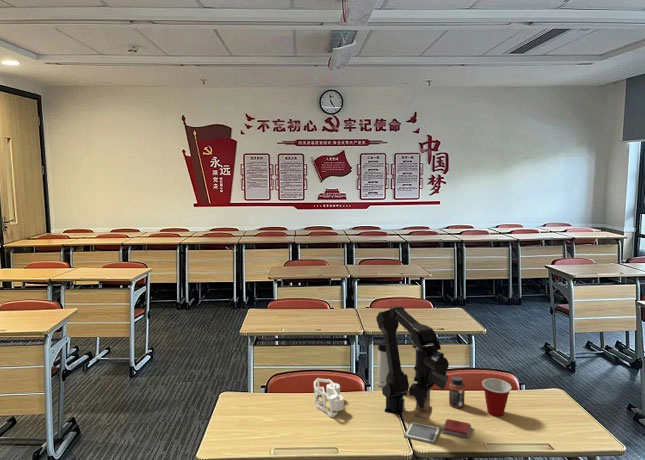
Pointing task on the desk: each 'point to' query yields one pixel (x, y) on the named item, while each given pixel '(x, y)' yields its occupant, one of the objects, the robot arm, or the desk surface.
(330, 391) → the white open frame block
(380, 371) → the travel mug
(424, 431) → the marked board
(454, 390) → the supplement bottle
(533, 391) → the desk surface
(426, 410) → the stamp
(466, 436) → the ink pad
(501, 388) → the plastic cup
